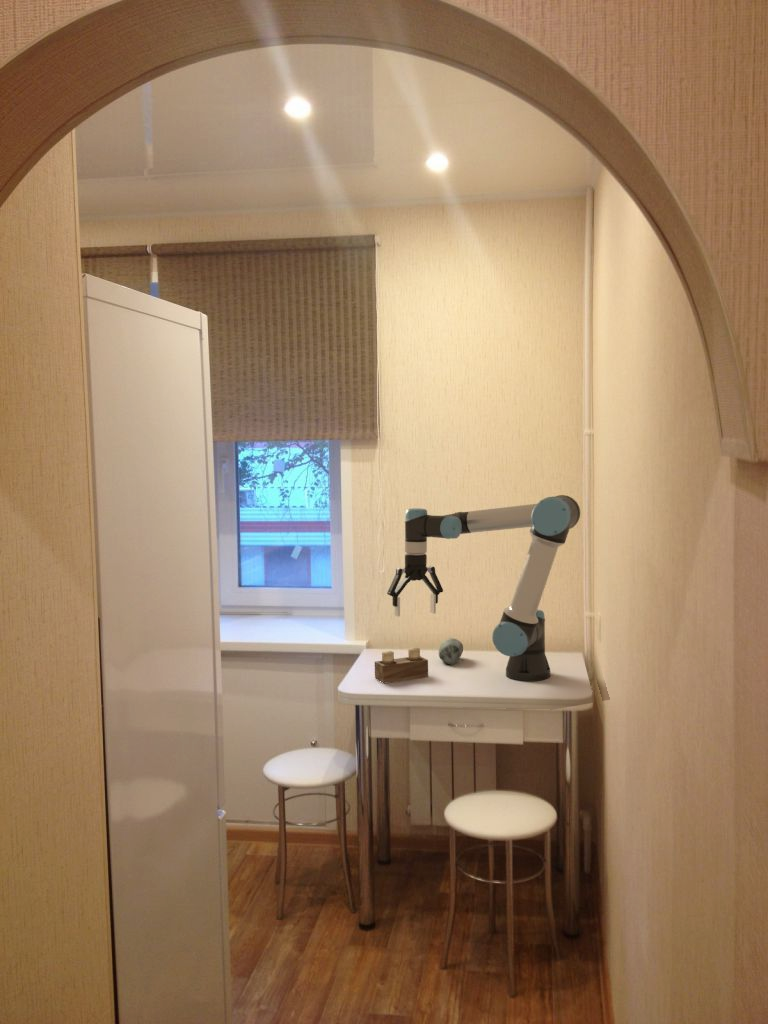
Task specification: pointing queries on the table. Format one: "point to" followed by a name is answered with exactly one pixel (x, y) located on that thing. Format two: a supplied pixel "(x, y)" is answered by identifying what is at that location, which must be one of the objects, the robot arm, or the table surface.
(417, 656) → the peg right
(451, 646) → the grey green ridged egg
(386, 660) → the peg left
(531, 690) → the table surface
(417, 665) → the walnut block
